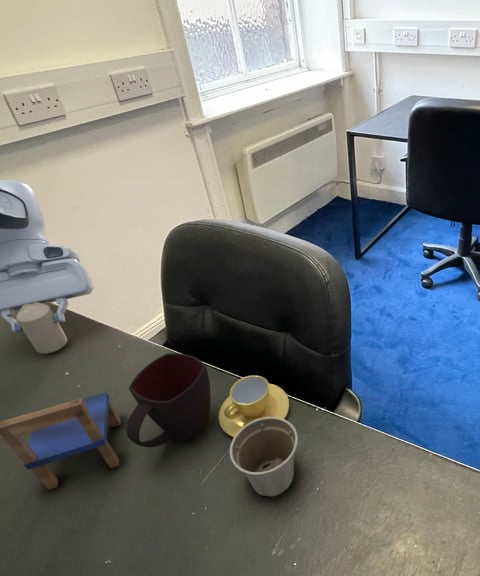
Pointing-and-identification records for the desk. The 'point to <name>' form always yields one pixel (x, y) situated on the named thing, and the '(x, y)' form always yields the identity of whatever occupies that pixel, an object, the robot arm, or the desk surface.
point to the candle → (41, 327)
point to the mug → (171, 398)
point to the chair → (62, 434)
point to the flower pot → (266, 454)
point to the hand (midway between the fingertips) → (40, 326)
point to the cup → (252, 403)
